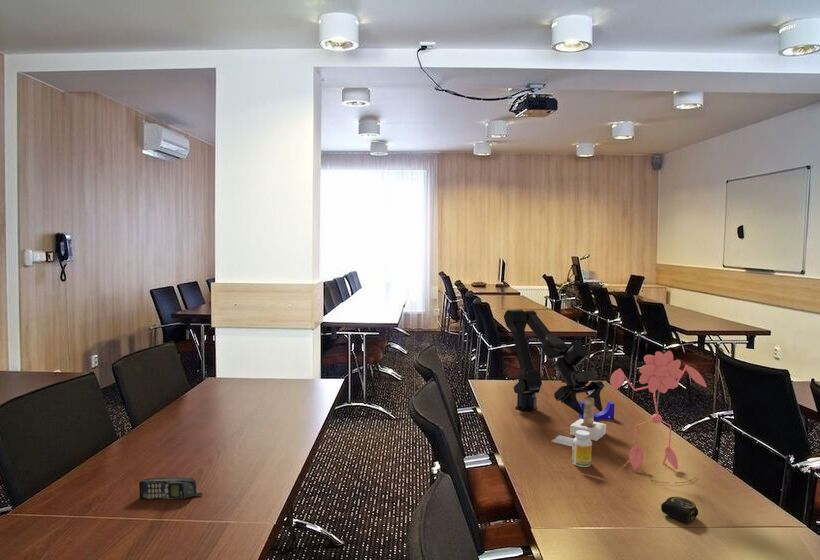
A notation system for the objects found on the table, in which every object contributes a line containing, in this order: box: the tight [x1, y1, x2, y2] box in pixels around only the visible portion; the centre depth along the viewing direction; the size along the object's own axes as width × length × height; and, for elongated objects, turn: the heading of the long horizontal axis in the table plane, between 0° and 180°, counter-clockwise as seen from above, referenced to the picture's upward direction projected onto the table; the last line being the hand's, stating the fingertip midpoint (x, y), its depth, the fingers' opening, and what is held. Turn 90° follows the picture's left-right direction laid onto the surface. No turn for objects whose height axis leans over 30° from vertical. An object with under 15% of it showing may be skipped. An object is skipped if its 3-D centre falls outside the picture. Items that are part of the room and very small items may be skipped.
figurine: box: [609, 350, 707, 485], centre depth 152 cm, size 15×26×35 cm, turn 89°
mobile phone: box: [138, 477, 204, 500], centre depth 136 cm, size 5×3×15 cm
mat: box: [550, 434, 574, 448], centre depth 176 cm, size 8×7×1 cm
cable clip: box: [578, 400, 615, 422], centre depth 200 cm, size 12×4×6 cm, turn 88°
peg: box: [583, 396, 595, 428], centre depth 182 cm, size 3×3×12 cm
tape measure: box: [660, 496, 699, 524], centre depth 129 cm, size 7×7×4 cm
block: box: [569, 418, 607, 442], centre depth 183 cm, size 9×9×4 cm
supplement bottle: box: [571, 430, 593, 468], centre depth 158 cm, size 5×5×10 cm
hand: (592, 412), depth 181 cm, fingers open, 8 cm apart
